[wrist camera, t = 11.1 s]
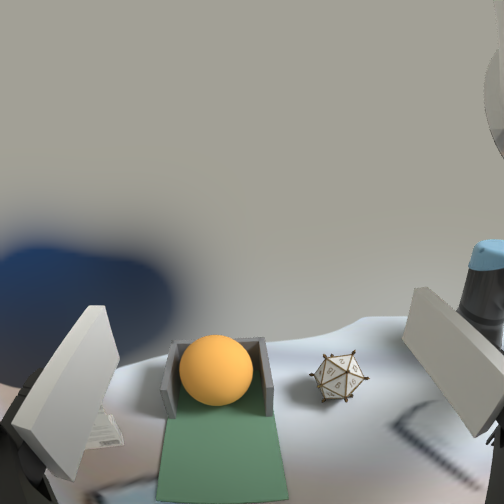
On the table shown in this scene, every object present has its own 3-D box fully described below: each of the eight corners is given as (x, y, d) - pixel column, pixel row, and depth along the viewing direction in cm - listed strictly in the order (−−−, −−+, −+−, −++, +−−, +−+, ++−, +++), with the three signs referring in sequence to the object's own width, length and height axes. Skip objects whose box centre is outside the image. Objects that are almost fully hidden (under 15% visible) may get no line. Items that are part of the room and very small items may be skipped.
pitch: (265, 365, 52) (265, 335, 50) (288, 499, 27) (293, 477, 24) (177, 368, 51) (170, 338, 49) (156, 500, 26) (140, 477, 23)
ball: (257, 417, 38) (246, 388, 49) (260, 345, 38) (247, 328, 49) (178, 417, 36) (182, 388, 47) (175, 343, 37) (181, 327, 47)
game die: (320, 408, 45) (289, 367, 45) (353, 376, 49) (327, 334, 48) (350, 423, 37) (318, 377, 37) (387, 383, 40) (359, 337, 40)
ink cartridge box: (59, 440, 31) (31, 398, 28) (123, 434, 36) (101, 390, 32) (59, 452, 29) (28, 410, 26) (125, 446, 33) (102, 403, 30)
